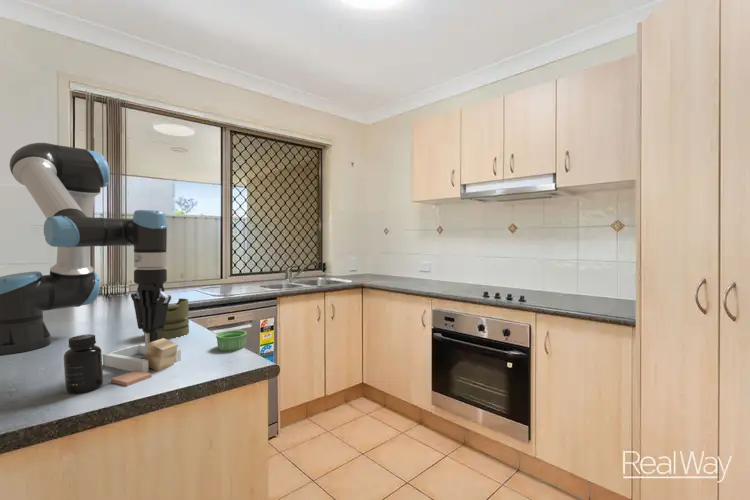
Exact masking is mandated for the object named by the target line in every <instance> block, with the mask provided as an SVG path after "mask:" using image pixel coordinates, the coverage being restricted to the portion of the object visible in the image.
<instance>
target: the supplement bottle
mask: <svg viewBox="0 0 750 500" xmlns="http://www.w3.org/2000/svg"><path fill="white" fill-rule="evenodd" d="M96 343H97V340H96V335H95V334H90V333H89V334H82V335H81V334H80V335H76V336H72V337H69V338H68V348H69V349H68V350H67V351H65V353H64V355H63V370H64V385H65V388H64V389H65V392H66V393H67V394H68V395H81V394H87V393H89V392H92V391H95V390H98V389H100V388H101V387H102V386H103V384H104V375H103V374H104V373H103V372H104V371H103V353H102V352H103V351H102V349H101V347H100V346H98V345H95V344H96Z"/></svg>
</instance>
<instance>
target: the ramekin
mask: <svg viewBox="0 0 750 500" xmlns="http://www.w3.org/2000/svg"><path fill="white" fill-rule="evenodd" d="M247 334H248V333H247V331H245V330H241V329H236V330H235V329H233V330H225V331H222V332H219V333H216V335H215V338H216V341H217V342H216V343H217V349H218V350H219V351H222V352H231V351H238V350H242V349H243V348H245V347H246V343H247V342H246V341H247Z"/></svg>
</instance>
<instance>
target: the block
mask: <svg viewBox="0 0 750 500" xmlns="http://www.w3.org/2000/svg"><path fill="white" fill-rule="evenodd" d="M178 347H179V344H178V343H175V342H173V341H172V340H170V339H165V338H162V339H158V340H156V341H153V342H150V343H148V345H147V349H146V354H145V359H144V360H148V368H150V369H152V370H154V371H157V372H159V371H162V370H164V369H166V368H168V367H171V366H173V365H175V362H174V360H175V356H176V351H177V349H178Z"/></svg>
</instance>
